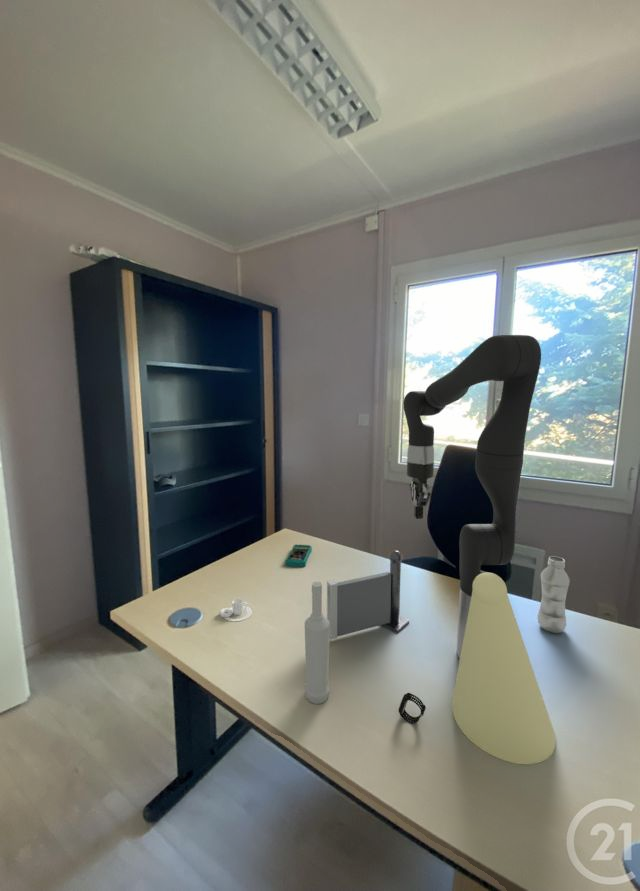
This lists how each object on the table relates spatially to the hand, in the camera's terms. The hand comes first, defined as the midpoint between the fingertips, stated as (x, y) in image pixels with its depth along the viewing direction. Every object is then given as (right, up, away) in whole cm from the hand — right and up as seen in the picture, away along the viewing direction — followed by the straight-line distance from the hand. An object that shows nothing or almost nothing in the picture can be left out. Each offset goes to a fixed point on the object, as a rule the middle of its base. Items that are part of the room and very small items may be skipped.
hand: (418, 517), depth 109 cm
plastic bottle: (+33, -29, -9) cm, 45 cm away
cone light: (+4, -33, -39) cm, 51 cm away
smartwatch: (-12, -33, -37) cm, 51 cm away
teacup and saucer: (-55, -28, +1) cm, 62 cm away
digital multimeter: (-37, -23, +35) cm, 56 cm away
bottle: (-30, -32, -31) cm, 53 cm away
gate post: (-9, -28, -7) cm, 30 cm away
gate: (-19, -28, -11) cm, 35 cm away
